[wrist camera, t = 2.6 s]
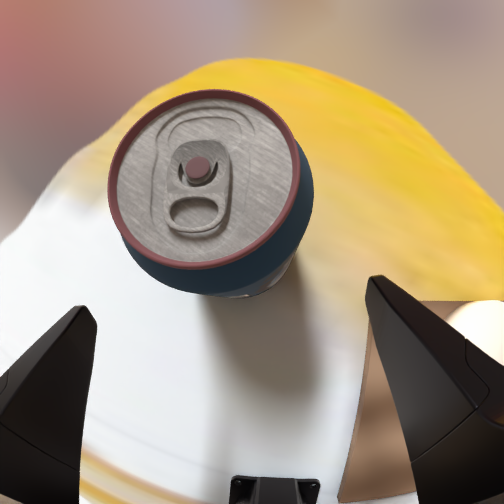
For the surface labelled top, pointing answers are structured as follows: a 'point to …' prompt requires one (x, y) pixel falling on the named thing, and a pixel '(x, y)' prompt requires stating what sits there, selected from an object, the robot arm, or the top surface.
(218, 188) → the soda can
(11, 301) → the top surface
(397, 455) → the plinth board
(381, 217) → the top surface
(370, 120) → the top surface
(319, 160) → the top surface
